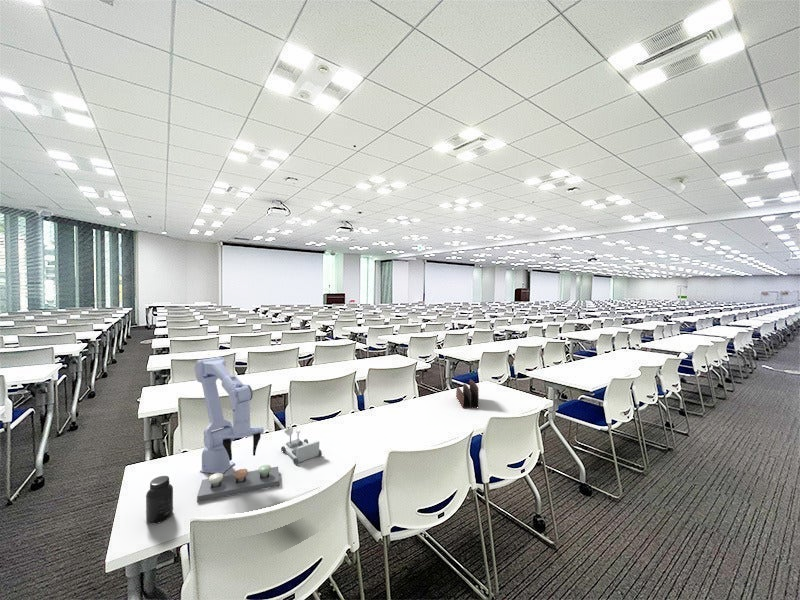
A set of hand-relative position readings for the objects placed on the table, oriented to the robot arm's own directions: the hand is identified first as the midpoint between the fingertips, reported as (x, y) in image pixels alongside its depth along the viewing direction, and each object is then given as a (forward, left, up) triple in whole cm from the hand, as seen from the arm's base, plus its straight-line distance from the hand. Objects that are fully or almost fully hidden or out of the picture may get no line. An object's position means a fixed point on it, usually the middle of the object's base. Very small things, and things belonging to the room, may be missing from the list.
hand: (242, 456), depth 120 cm
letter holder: (+89, +105, -11) cm, 138 cm away
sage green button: (+7, +4, -9) cm, 12 cm away
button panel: (0, 0, -11) cm, 11 cm away
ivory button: (-7, -4, -9) cm, 12 cm away
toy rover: (+11, +26, -11) cm, 30 cm away
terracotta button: (0, 0, -9) cm, 9 cm away
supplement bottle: (-15, -19, -11) cm, 27 cm away
